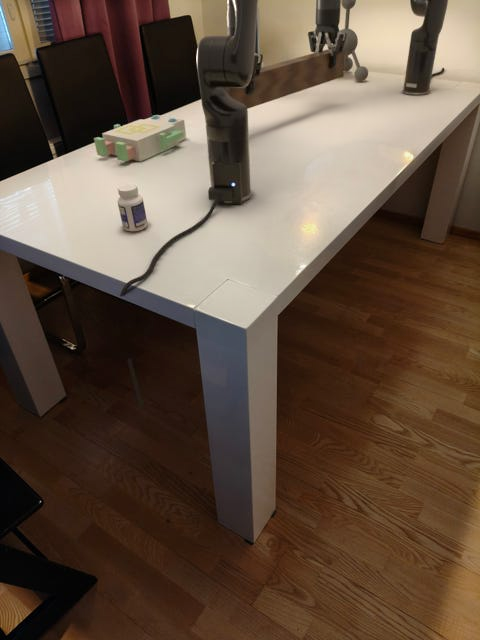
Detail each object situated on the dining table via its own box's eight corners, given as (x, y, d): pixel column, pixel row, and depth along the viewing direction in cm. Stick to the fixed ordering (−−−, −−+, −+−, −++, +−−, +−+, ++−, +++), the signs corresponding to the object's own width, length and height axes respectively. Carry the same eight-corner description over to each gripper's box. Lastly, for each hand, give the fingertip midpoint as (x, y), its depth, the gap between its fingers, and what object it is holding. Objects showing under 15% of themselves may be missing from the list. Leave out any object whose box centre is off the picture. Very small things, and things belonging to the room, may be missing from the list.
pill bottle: (149, 220, 107) (142, 181, 102) (146, 231, 103) (138, 191, 98) (125, 221, 107) (116, 182, 102) (121, 232, 103) (112, 193, 98)
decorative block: (146, 110, 155) (194, 118, 145) (149, 131, 159) (196, 140, 149) (83, 133, 139) (132, 144, 129) (88, 156, 143) (136, 168, 133)
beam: (230, 114, 137) (228, 81, 132) (220, 112, 140) (217, 79, 134) (343, 76, 167) (345, 48, 161) (332, 75, 169) (334, 47, 164)
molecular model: (302, 76, 212) (304, -7, 193) (348, 70, 216) (355, -11, 198) (326, 87, 194) (331, -3, 175) (375, 81, 198) (385, -8, 180)
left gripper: (270, 23, 128) (270, 93, 138) (232, 20, 136) (235, 87, 146) (250, 27, 124) (252, 99, 134) (212, 24, 132) (217, 92, 142)
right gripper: (354, 5, 149) (350, 67, 159) (317, 4, 157) (314, 63, 168) (340, 9, 145) (336, 72, 155) (302, 7, 153) (301, 67, 163)
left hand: (243, 92), depth 140 cm, fingers closed on beam, 4 cm apart
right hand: (325, 67), depth 161 cm, fingers closed on beam, 4 cm apart
